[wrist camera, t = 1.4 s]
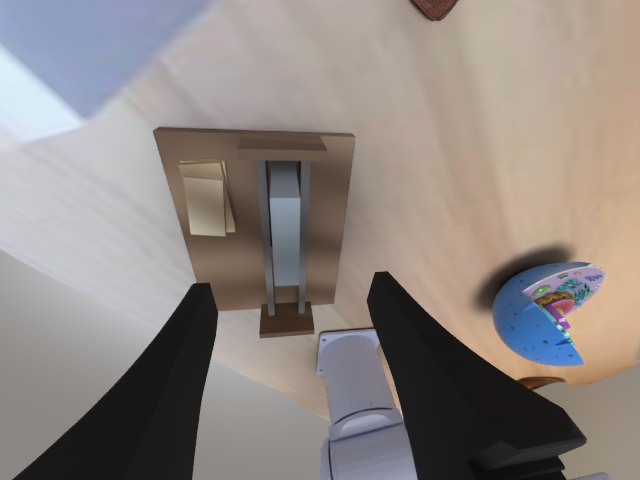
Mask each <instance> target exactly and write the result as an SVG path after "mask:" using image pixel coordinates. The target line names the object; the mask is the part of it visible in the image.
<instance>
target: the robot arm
mask: <svg viewBox="0 0 640 480" xmlns="http://www.w3.org/2000/svg"><path fill="white" fill-rule="evenodd" d="M367 304H368V308H369V312H370V316H371V320H372V323H373V326H374V328H375V329H364V330H351V331H339V332H326V333H321V334H320V339H319V349H318V360H317V370H316V374H317V375H318V376H324V380H325V387H326V394H327V401H328V408H329V415H330V420H331V423H332V426H329V427H328V430H329V436H330V438H326V439H325V440H324V442H323V445H322V447H321V450H320V474H321V480H566V478H565V477H564V475H563V474H562V472H561V470H564V469H565V467H564V465H563V463H562V462H561V460H560V459H559V457H558V455H561V454H563V453H566V452H568V451H570V450H573V449H575V448H578V447H580V446H582V445H584V444H585V443H586V440H587V439H586V437H585V436H584V435H583V434H582V432H581V431H580V430H579V428H578V427H577V426H576V424H575V423H574V422H573V421H572V420H571V418H570V417H569V416H568V414H567V413H566V412H565V410H564V409H563V408H561V407H560V406H558V405H556V404H554V403H553V402H551V401H549V400H548V399H546V398H544V397H542V396H541V395H539V394H537V393H535V392H534V391H532V390H530V389H529V388H527V387H525V386H524V385H522V384H520V383H519V382H517V381H516V380H514V379H513V378H511V377H509V376H508V375H506V374H505V373H503V372H502V371H500V370H499V369H497V368H496V367H494V366H493V365H491V364H490V363H489V362H487V361H486V360H484V359H483V358H482V357H480V356H479V355H477V354H476V353H475V352H473V351H472V350H471V349H469V348H468V347H467V346H465V345H464V344H463V343H462V342H460V341H459V340H458V339H457V338H456V337H454V336H453V335H452V334H451V333H449V332H448V331H447V330H446V329H445V328H444V327H442V326H441V325H440V324H439V323H438V322H437V321H436V320H435V319H434V318H433V317H431V316H430V315H429V314H428V313H427V312H426V311H425V310H424V309H423V308H422V307H421V306H420V305H419V304H418V303H417V302H416V301H415V300H414V299H413V298H412V297H411V296H410V295H409V294H408V292H407V291H406V290H405V289H404V288H403V287H402V286H401V285H400V284H399V283H398V282H397V281H396V280H395V279H394V278H393V277H392V275H391V274H390V273H389V272H388V271H385V272H375V274H374V277H373V281H372V284H371V288H370V291H369V295H368V298H367ZM217 320H218V310H217V306H216V303H215V300H214V296H213V293H212V289H211V286H210V282H209V283H194V284H193V285H192V286H191V287H190V289H189V290H188V292H187V293H186V295H185V297H184V298H183V300H182V301H181V303H180V304H179V305H178V307H177V308H176V310H175V311H174V313H173V314H172V315H171V317H170V318H169V320H168V321H167V322H166V324H165V325H164V326H163V328H162V329H161V330H160V332H159V333H158V334H157V336H156V337H155V338H154V339H153V341H152V342H151V343H150V344H149V346H148V347H147V348H146V349H145V351H144V352H143V353H142V354H141V355H140V357H139V358H138V359H137V360H136V361H135V362H134V364H133V365H132V366H131V367H130V368H129V369H128V371H127V372H126V373H125V374H124V375H123V376H122V377H121V378H120V379H119V380H118V381H117V383H116V384H115V385H114V386H113V387H112V388H111V389H110V390H109V391H108V392H107V393H106V394H105V395H104V396H103V397H102V398H101V399H100V400H99V401H98V402H97V403H96V404H95V405H94V406H93V407H92V408H91V409H90V410H89V411H88V412H87V413H86V414H85V415H84V416H83V417H82V418H81V419H80V420H79V421H78V422H77V423H76V424H75V425H73V426H72V427H71V428H70V429H69V430H68V431H67V432H66V433H65V434H63V435H62V436H61V437H60V438H59V439H58V440H57V441H56V442H55V443H54V444H53V445H52V446H51V447H49V448H48V449H47V450H46V451H45V452H44V453H43V454H42V455H41V456H39V457H38V458H37V459H36V460H35V461H34V462H32V463H31V464H30V465H29V466H28V467H27V468H25V469H24V470H23V471H22V472H21V473H20V474H18V475H17V476H16V477H15V478H14V479H12V480H192V474H193V465H194V455H195V446H196V439H197V430H198V422H199V414H200V407H201V401H202V395H203V390H204V386H205V381H206V377H207V373H208V368H209V364H210V360H211V355H212V351H213V346H214V342H215V337H216V330H217ZM379 342H380V344H381V347H382V349H383V352H384V355H385V357H386V360H387V362H388V365H389V368H390V371H391V374H392V376H393V380H394V383H395V387H396V391H397V394H398V398H399V401H400V405H401V409H402V413H403V417H404V418H403V420H402V417H401V414H400V411H399V409H398V408H396V405H395V402H394V399H393V396H392V393H391V390H390V387H389V384H388V381H387V378H386V375H385V372H384V369H383V366H382V364H381V361H380V358H379V355H378V352H377V349H378V346H379ZM403 421H404V423H403ZM404 425H405V426H404ZM570 480H611V478H610V477H609V476H608V474H607V473H604V472H600V473H595V474H591V475H586V476H582V477H578V478H574V479H570Z"/></svg>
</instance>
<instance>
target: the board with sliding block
mask: <svg viewBox="0 0 640 480" xmlns="http://www.w3.org/2000/svg"><path fill="white" fill-rule="evenodd" d="M153 133H154V137H155V140H156V144H157V147H158V150H159V154H160V157H161V161H162V164H163V168H164V171H165V174H166V178H167V181H168V185H169V188H170V192H171V195H172V198H173V202H174V205H175V209H176V212H177V215H178V219H179V222H180V226H181V229H182V233H183V236H184V239H185V243H186V246H187V250H188V253H189V257H190V260H191V263H192V267H193V270H194V274H195V277H196V281H197V283H209V282H210V286H211V289H212V293H213V296H214V300H215V303H216V306H217V310H218V311H229V310H244V309H260V308H261V320H260V338H271V337H283V336H296V335H308V334H314V324H313V316H312V309H311V305H323V304H334V297H335V289H336V282H337V274H338V266H339V259H340V251H341V243H342V236H343V228H344V220H345V213H346V205H347V198H348V190H349V182H350V175H351V167H352V159H353V152H354V144H355V136H354V135H353V134H341V133H311V132H281V131H250V130H220V129H189V128H157V129H155V130H154V131H153ZM181 159H226V166H227V173H228V179H229V186H230V193H231V199H232V206H233V213H234V217H235V222H236V230H235V232H226V236H210V235H193V234H191V232H190V225H189V218H188V210H187V203H186V196H185V188H184V182H183V179H182V176H181V173H180V170H179V167H178V164H179V163H180V160H181ZM272 160H275V161H295V168H296V174H297V180H298V186H299V193H300V249H299V285H289V286H275V282H274V264H273V246H272V229H271V211H270V186H271V170H272Z"/></svg>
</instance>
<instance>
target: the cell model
mask: <svg viewBox="0 0 640 480" xmlns="http://www.w3.org/2000/svg"><path fill="white" fill-rule="evenodd" d="M592 265H593V264H592V263H585V262H560V263H551V264H544V265H540V266H537V267H533V268H530V269H527V270H525V271H523V272H521V273H519V274H517V275H515V276H514V277H512V278H511V279H509V280H508V281H507V282H506V283H505V284H504V285H503V286H502V287H501V289H500V290H499V291H498V293H497V295H496V297H495V300H494V302H493V306H492V318H493V324H494V327H495V330H496V332H497V334H498V336H499V337H500V339H501V340H502V341H503V343H504V344H505V345H506V346H507V347H509V348H510V349H511V350H512V351H513V352H515V353H516V354H518V355H520V356H522V357H524V358H526V359H528V360H531V361H533V362H536V363H540V364H545V365H552V366H576V365H583V360H582V358H581V357H580V355H579V353H578V352H577V351H576V349H575V348H574V346H573V345H575V344H574V342H573V341H572V339H570V335H569V334H568V333H567V332H566V331H565V330H566V329H569V328H570V325H569V324H568V322H567V321H566V320H565V318H564V317H565V316H566V315H568V314H570V313H571V312H573V311H574V310H576V309H577V308H579V307H580V306H581V305H583V304H584V303H585V302H587V301H588V300H589V299H590V298H591V297H592V296H593V295H594V294H595V293H596V292H597V291H598V290H599V289H600V287H599V286H598V285H599V284H601V283H603V281H604V278H605V272H604V270H603V269H602V268H600V267H596V266H592Z"/></svg>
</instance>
